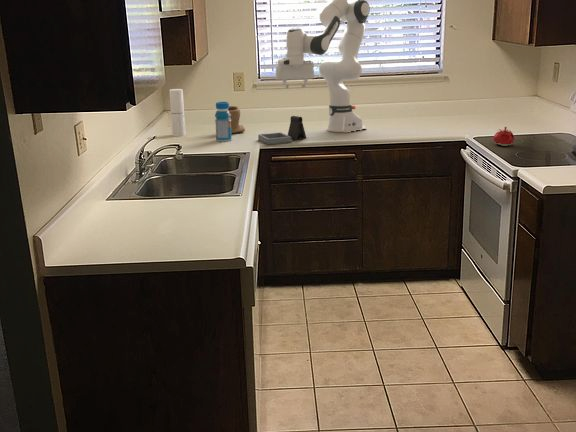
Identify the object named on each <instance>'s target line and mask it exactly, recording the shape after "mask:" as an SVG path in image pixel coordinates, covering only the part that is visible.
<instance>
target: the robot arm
mask: <svg viewBox="0 0 576 432" xmlns="http://www.w3.org/2000/svg"><path fill="white" fill-rule="evenodd" d="M370 8H371V7H370V5H369V2H368V1H367V0H329V1H328V2H327V3H325V5H324V7H322V8H321V10H320V13H319V21H320V23H321V24H322V25H323V26H324V27H325V28H324V29H323V32H322V33H319V34H308V33H306V32H305V31H304V30H303V28H302V27H293V28H290V29H288V30H287V33H286V48H287V49H286V57H284V58H281V59H278V60H277V66H276V67H275V68H276V69H275V79H277V80H280V81H282V83H283V84H284V89H289V84H287V80H303V83H302V84H301V88H302V89H305V88H306V84H307V83H308V80H309V79H310V80H311V79H313V78H314V77H315V72H314V71H315V70H314V67H315V65H314V64H315V63H314V61H312V60H311V59H309V60H304V59H305V58H304V55H305V54H307V55H308V54H309V55H317V56H323V55H324V54H326V53H327V51H328V49H329V46H330V44H331V42H332V40H333V39H334V37H335V35H336V34H337V32H338V30H339V29H340V26H341V23H346V27H345V30H344V32H343V34H342V36H341V39H340V42H339V45H338V52H339V53H340V54H341V55H342V57H341V58H340V59H337V58H336V59H335V58H330V59H325V60H323V61H321V63H320V64H319V66H318V67H319V68H318V69H319V73H320V76H321V77H322V78H323V79H324V80H325V82H326V84H327V87H328V90H329V105H328V113H329V114H328V115H329V118H328V123H327V128H326V130H327V132H328V131H329V132H333V133H334V132H335V133H352V132H351V131H354V132H357V131H356V130H360V131H362V130H361V129H366V130H367V126H365V125H363V119H362V117H360V116H359V115H358V114H356V113H355V112H354V111H353V110H356V109H357V107H356V105H351V102H350V99H351V98H350V97H351V94H350V93H351V91H350V89H349V88H348V87H347V86H345V84H344V82H343V81H355V80H358V79H359V78H360V76H362V72H363V69H362V66H361V63H360V62H359V60H358V53H359V51H360V47H361V44H362V41H363V38H364V35H365V30H366V25H365V22H367V20H368V17H369V15H370V10H371V9H370Z"/></svg>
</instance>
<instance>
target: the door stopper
mask: <svg viewBox="0 0 576 432" xmlns="http://www.w3.org/2000/svg"><path fill="white" fill-rule="evenodd" d="M287 135H288V136H290V137H291V141H294V142H296V141H301V140H305V139H307V135H306V130H305V127H304V123H303V117H302V116H298V115H296V116H295V115H292V116H290V122H289V127H288V132H287Z"/></svg>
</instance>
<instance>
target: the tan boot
mask: <svg viewBox="0 0 576 432" xmlns="http://www.w3.org/2000/svg"><path fill="white" fill-rule="evenodd" d="M228 111H229V112H230V114H231V116H230V118H231V134H238V133H243V132H245V131H246V129H245V127H244V125H243V124H241V125H240V118H241V108H239V107H238V106H236V105H229V109H228Z"/></svg>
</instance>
